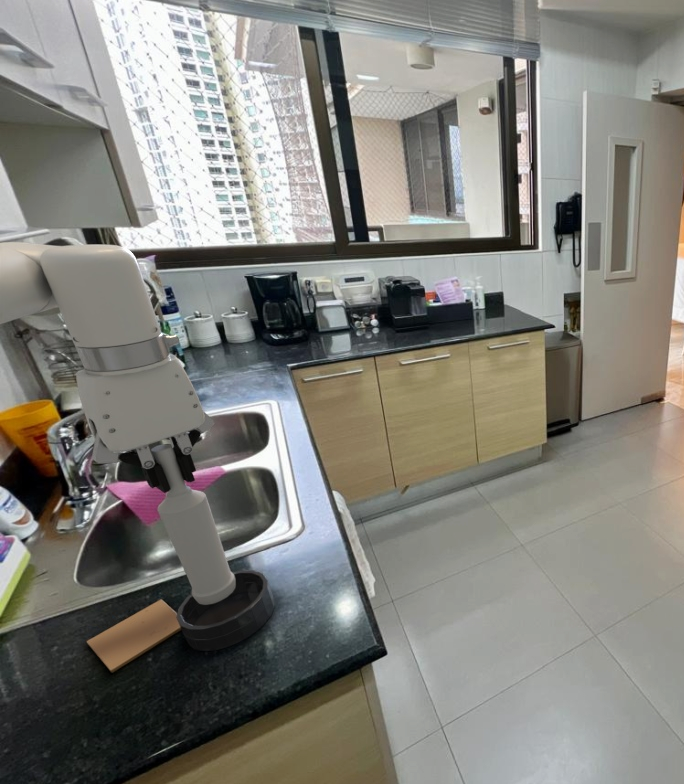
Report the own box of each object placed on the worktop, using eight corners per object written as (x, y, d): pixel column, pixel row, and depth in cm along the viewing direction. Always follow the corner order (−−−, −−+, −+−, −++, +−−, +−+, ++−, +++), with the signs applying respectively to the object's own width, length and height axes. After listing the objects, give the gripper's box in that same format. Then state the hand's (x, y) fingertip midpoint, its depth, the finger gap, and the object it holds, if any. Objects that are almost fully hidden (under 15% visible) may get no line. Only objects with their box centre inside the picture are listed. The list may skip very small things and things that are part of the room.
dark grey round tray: (172, 630, 71) (161, 608, 69) (252, 580, 80) (244, 560, 78) (208, 665, 66) (198, 642, 64) (289, 608, 75) (282, 587, 73)
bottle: (186, 599, 69) (125, 452, 59) (223, 575, 73) (171, 435, 63) (209, 610, 67) (150, 461, 57) (245, 585, 71) (196, 442, 62)
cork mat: (87, 643, 68) (86, 641, 68) (162, 601, 76) (161, 599, 75) (112, 673, 64) (110, 670, 64) (188, 625, 71) (187, 622, 71)
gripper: (189, 333, 63) (226, 451, 71) (17, 366, 51) (84, 505, 58) (217, 342, 60) (253, 465, 67) (40, 380, 47) (108, 526, 54)
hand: (174, 482), depth 63 cm, fingers closed on bottle, 2 cm apart
